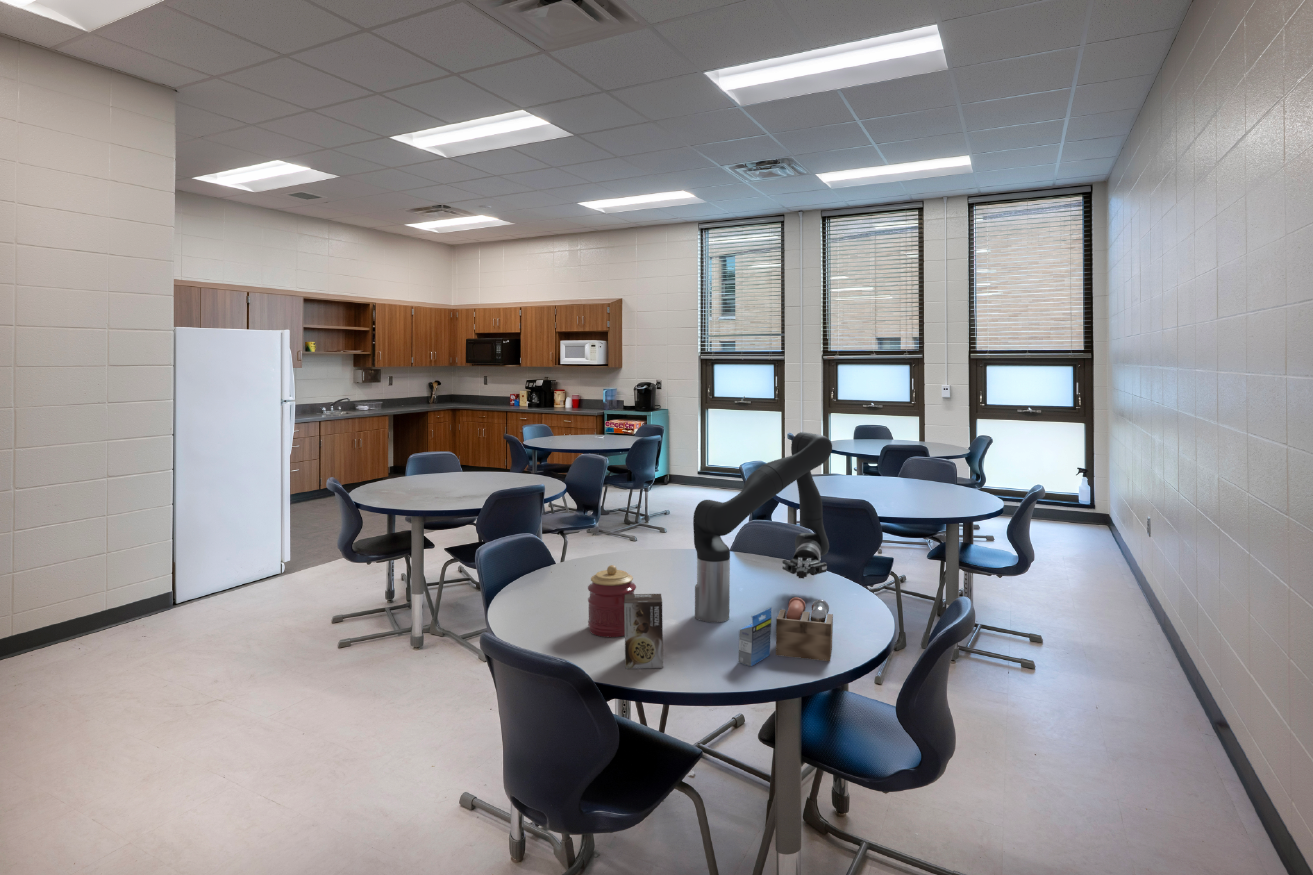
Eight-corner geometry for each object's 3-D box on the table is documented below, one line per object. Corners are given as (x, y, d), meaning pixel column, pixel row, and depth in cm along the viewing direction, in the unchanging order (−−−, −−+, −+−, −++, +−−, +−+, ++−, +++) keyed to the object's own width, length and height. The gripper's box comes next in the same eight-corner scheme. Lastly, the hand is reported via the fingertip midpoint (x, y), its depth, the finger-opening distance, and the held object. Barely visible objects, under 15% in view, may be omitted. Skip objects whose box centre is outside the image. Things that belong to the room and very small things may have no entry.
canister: (629, 640, 186) (629, 573, 185) (581, 636, 189) (581, 570, 187) (641, 622, 199) (640, 560, 197) (595, 619, 202) (595, 557, 200)
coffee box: (662, 657, 175) (662, 593, 173) (663, 668, 168) (663, 601, 167) (624, 658, 175) (624, 593, 173) (624, 669, 168) (624, 601, 167)
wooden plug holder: (775, 655, 176) (776, 618, 176) (780, 642, 184) (780, 607, 184) (830, 661, 173) (831, 624, 172) (832, 648, 181) (832, 612, 180)
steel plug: (808, 627, 179) (808, 610, 179) (811, 615, 188) (811, 598, 188) (826, 629, 178) (826, 611, 177) (828, 616, 187) (829, 600, 186)
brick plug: (784, 624, 181) (784, 607, 180) (788, 612, 190) (788, 596, 189) (801, 626, 179) (802, 609, 179) (805, 614, 188) (805, 598, 188)
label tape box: (757, 651, 179) (757, 603, 177) (771, 656, 176) (772, 607, 175) (737, 663, 172) (738, 612, 171) (752, 667, 169) (752, 616, 168)
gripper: (784, 544, 214) (776, 559, 198) (830, 546, 210) (826, 562, 194) (784, 568, 215) (776, 586, 198) (829, 571, 211) (826, 590, 195)
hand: (801, 574), depth 196 cm, fingers closed
